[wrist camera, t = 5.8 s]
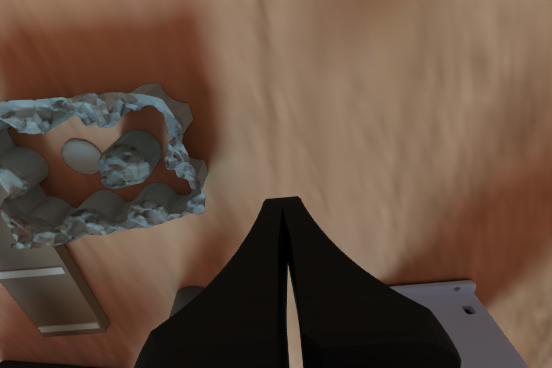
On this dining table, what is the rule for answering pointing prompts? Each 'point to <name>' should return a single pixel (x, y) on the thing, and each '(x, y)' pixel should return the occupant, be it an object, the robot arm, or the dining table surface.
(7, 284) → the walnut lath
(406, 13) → the dining table surface
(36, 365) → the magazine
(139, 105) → the egg carton
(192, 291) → the awl peg
